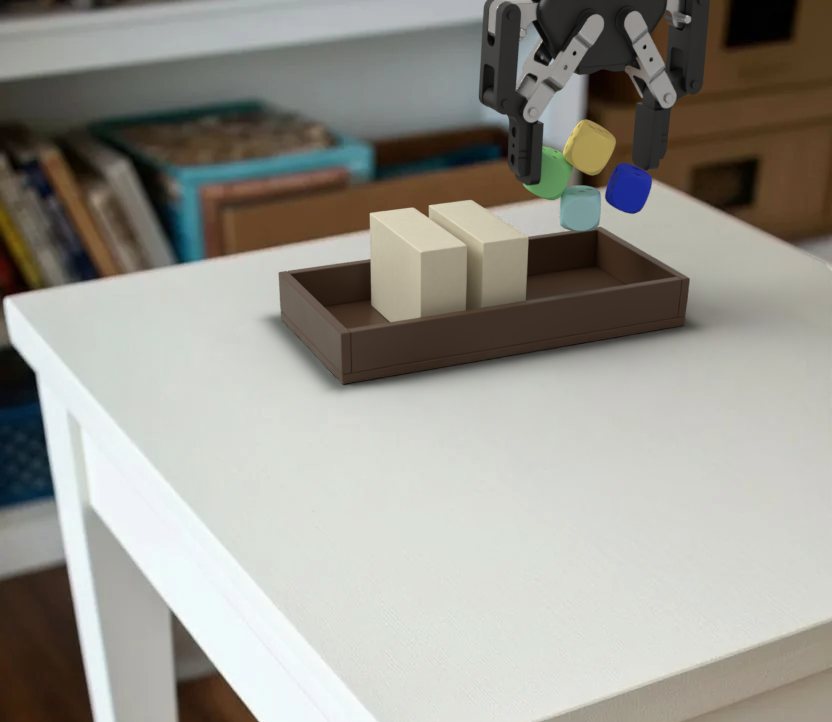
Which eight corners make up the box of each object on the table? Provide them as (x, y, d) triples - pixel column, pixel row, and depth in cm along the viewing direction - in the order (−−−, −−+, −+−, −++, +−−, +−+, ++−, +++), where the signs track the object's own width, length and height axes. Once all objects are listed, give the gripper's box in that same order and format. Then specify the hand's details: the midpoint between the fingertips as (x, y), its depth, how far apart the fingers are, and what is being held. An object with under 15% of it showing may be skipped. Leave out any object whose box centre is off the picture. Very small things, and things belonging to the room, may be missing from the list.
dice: (645, 219, 89) (655, 116, 85) (649, 232, 86) (659, 127, 83) (520, 217, 89) (524, 114, 85) (521, 231, 87) (525, 125, 83)
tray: (597, 270, 96) (600, 226, 94) (685, 325, 88) (690, 278, 86) (280, 318, 88) (278, 271, 87) (342, 384, 80) (340, 333, 78)
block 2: (469, 290, 91) (471, 199, 88) (524, 332, 85) (529, 236, 82) (427, 296, 90) (428, 204, 87) (480, 340, 84) (483, 242, 81)
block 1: (413, 299, 90) (413, 206, 86) (465, 342, 84) (467, 245, 80) (370, 305, 89) (369, 212, 85) (420, 350, 83) (420, 251, 79)
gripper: (681, -133, 82) (654, 148, 91) (462, -125, 77) (456, 171, 86) (754, -121, 76) (717, 178, 85) (522, -110, 72) (509, 204, 81)
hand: (586, 174), depth 86 cm, fingers closed on dice, 8 cm apart
